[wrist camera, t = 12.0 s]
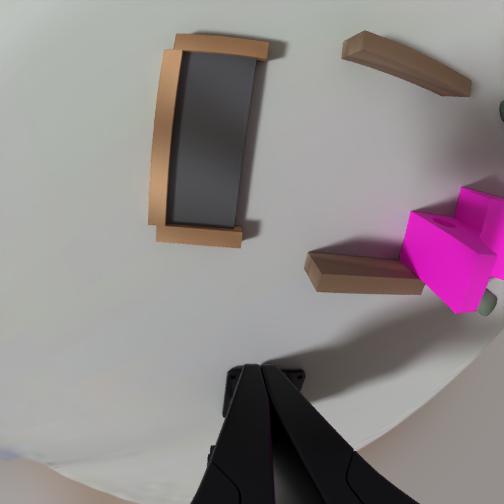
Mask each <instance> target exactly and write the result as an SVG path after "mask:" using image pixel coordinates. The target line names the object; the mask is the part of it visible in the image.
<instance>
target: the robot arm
mask: <svg viewBox="0 0 504 504" xmlns="http://www.w3.org/2000/svg"><path fill="white" fill-rule="evenodd" d="M232 375H234V376H232ZM299 375H300V376H299ZM305 377H306V375H305V372H304V371H303V370H280V369H279V368H278V367H277V366H276V365H274V364H262V365H258V364H245V365H244V366H243V369H242V370H240V369H232V370H229V371H228V372H227V378H226V386H225V395H224V403H223V411H222V414H223V417H224V418H225V420H224V423H223V426H222V428H221V431H220V434H219V437H218V439H217V442H216V445H212V446H211V448H210V454H208V463H207V469H206V471H205V474H204V476H203V479H202V481H201V483H200V486H199V488H198V490H197V492H196V494H195V496H194V498H193V500H192V501H191V503H190V504H419V503H418V502H417V501H415V500H414V499H412V498H411V497H409V496H408V495H407V494H405V493H404V492H403V491H401V490H400V489H398V488H397V487H396V486H394V485H393V484H392V483H391V482H389V481H388V480H386V478H384V477H383V476H382V475H380V474H379V473H378V472H377V471H376V470H375V469H374V468H373V467H372V466H371V465H369V464H368V463H367V462H366V461H365V460H364V459H363V458H362V457H361V456H360V455H359V454H358V453H357V452H356V451H354V449H353V448H352V447H351V446H350V445H349V444H348V443H347V442H346V441H345V440H344V439H343V438H342V436H341V435H340V434H339V433H338V432H337V431H336V430H335V429H334V428H333V427H332V426H331V425H330V424H329V423H328V422H327V421H326V420H325V419H324V417H323V416H322V415H321V414H320V413H319V412H318V411H317V410H316V409H315V408H314V407H313V406H312V405H311V403H310V402H309V401H308V400H307V399H306V398H305V397H304V396H303V395H302V394H301V392H300V391H301V388H302V385H303V382H304V380H305Z"/></svg>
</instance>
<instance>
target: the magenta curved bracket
mask: <svg viewBox="0 0 504 504" xmlns="http://www.w3.org/2000/svg"><path fill="white" fill-rule="evenodd" d="M399 260H400V261H401V262H402V263H403V264H404V265H406V266H407V267H408V268H409V269H410V270H411V271H412V272H413V273H414V274H415V275H416V276H417V277H419V278H420V279H421V280H422V281H423V282H424V283H425V284H426V285H427V286H428V287H429V288H430V289H431V290H432V291H433V292H434V293H435V294H436V295H437V296H438V297H439V298H440V299H441V300H442V301H443V302H444V303H445V304H446V305H447V306H448V307H449V308H450V309H451V310H452V311H453V312H454V313H455V314H458V313H466V312H474V311H476V310H477V308H478V306H479V304H480V301H481V299H482V296H483V294H484V292H485V289H486V286H487V284H488V281H489V279H490V277H495V278H499V279H502V280H504V198H501V197H497V196H494V195H490V194H487V193H483V192H479V191H475V190H472V189H468V188H464V187H461V190H460V195H459V199H458V204H457V208H456V212H455V216H454V217H449V216H442V215H435V214H428V213H421V212H414V211H411V212H410V217H409V221H408V225H407V229H406V234H405V238H404V241H403V245H402V249H401V253H400V257H399Z"/></svg>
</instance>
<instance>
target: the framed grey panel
mask: <svg viewBox="0 0 504 504" xmlns="http://www.w3.org/2000/svg"><path fill="white" fill-rule="evenodd" d="M268 48H269V42H264V41H257V40H250V39H242V38H234V37H224V36H213V35H198V34H176V37H175V43H174V48H173V50H164V53H163V60H162V66H161V73H160V79H159V87H158V94H157V102H156V111H155V120H154V130H153V142H152V154H151V169H150V187H149V214H148V225H157V230H156V242H169V243H181V244H193V245H206V246H218V247H230V248H241V242H242V234H243V232H242V227H239V226H234V223H235V215H236V207H237V199H238V191H239V183H240V175H241V167H242V160H243V152H244V145H245V137H246V130H247V123H248V115H249V108H250V101H251V94H252V87H253V80H254V74H255V67H256V61H262V62H265V60H266V59H267V55H268ZM341 59H345V60H348V61H352V62H355V63H358V64H361V65H365V66H368V67H371V68H374V69H377V70H379V71H382V72H385V73H388V74H391V75H393V76H396V77H399V78H401V79H404V80H406V81H409V82H411V83H414V84H416V85H418V86H421V87H423V88H425V89H428V90H430V91H432V92H434V93H436V94H439V95H441V96H458V97H470V91H471V80H470V79H468V78H467V77H465V76H463V75H461V74H460V73H458V72H456V71H454V70H453V69H451V68H449V67H447V66H445V65H443V64H441V63H439V62H438V61H436V60H434V59H432V58H430V57H428V56H425V55H423V54H421V53H419V52H417V51H415V50H413V49H410V48H408V47H406V46H404V45H401V44H399V43H396V42H394V41H392V40H389V39H387V38H384V37H381V36H379V35H376V34H373V33H371V32H368V31H363V32H361V33H359V34H357V35H355V36H353V37H351V38H349V39H347V40H345V41H344V42H343V50H342V58H341ZM500 115H501V118H502V120H503V121H504V101H503V102H502V103H501V105H500ZM304 269H305V271H306V273H307V275H308V276H309V278H310V280H311V282H312V284H313V286H314V288H315V289H316V291H317V292H331V293H359V294H397V295H421V293H422V291H423V288H424V286H425V283H424V282H423V281H422V280H421V279H420V278H419V277H417V276H416V275H415V274H414V273H413V272H412V271H411V270H410V269H409V268H408V267H407V266H406V265H404V264H403V263H402V262H401V261H400V260H392V259H381V258H370V257H358V256H347V255H335V254H323V253H312V252H308V254H307V258H306V263H305V267H304ZM496 303H497V297H496V296H495V295H494V294H493V293H492V292H490V291H489V290H488V289H487V288H486V289H485V292H484V294H483V296H482V299H481V301H480V304H479V306H478V308H477V311H478V312H479V313H480V314H481V315H482V316H487V315H489V314H490V313H491V312H492V311H493V309H494V308H495V306H496Z"/></svg>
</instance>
